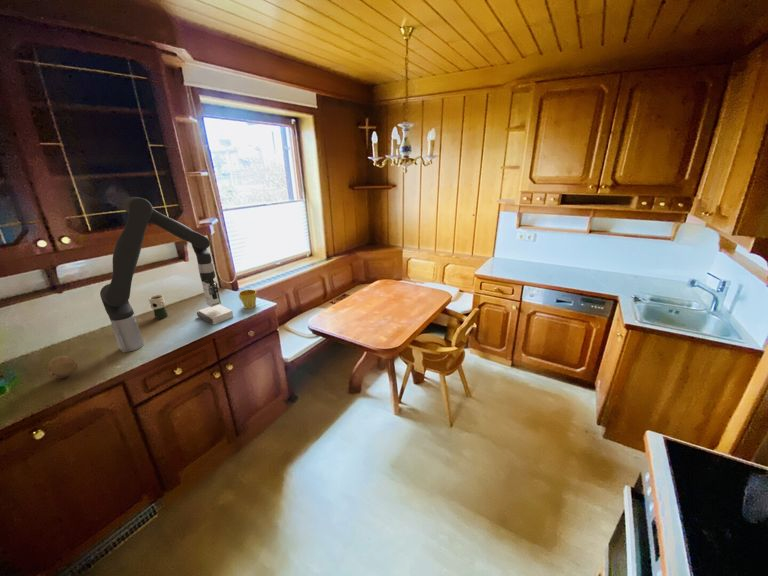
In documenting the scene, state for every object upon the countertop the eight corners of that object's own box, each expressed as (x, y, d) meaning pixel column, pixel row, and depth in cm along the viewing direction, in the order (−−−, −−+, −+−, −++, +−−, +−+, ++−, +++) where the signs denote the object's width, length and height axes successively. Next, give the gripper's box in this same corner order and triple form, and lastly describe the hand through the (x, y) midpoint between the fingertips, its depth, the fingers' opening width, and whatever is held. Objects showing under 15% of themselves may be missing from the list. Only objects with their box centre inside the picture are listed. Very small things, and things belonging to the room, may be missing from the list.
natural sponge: (86, 369, 140) (78, 350, 137) (71, 382, 132) (62, 362, 128) (63, 370, 139) (55, 351, 135) (46, 384, 131) (37, 364, 127)
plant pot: (248, 311, 195) (245, 297, 191) (237, 307, 200) (235, 293, 196) (261, 305, 203) (259, 291, 199) (251, 301, 208) (249, 288, 204)
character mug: (149, 317, 186) (143, 297, 181) (161, 312, 192) (155, 293, 187) (162, 321, 182) (156, 301, 177) (173, 316, 188) (168, 296, 183)
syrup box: (211, 307, 181) (206, 284, 176) (206, 304, 185) (201, 281, 179) (221, 304, 186) (216, 281, 180) (216, 301, 189) (211, 278, 183)
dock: (211, 325, 179) (210, 319, 177) (197, 317, 187) (196, 311, 186) (233, 316, 188) (232, 310, 187) (219, 309, 197) (218, 303, 196)
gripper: (193, 269, 178) (199, 296, 184) (206, 274, 170) (212, 302, 177) (207, 266, 184) (212, 292, 190) (219, 271, 176) (225, 298, 182)
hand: (212, 297), depth 183 cm, fingers closed on syrup box, 6 cm apart
